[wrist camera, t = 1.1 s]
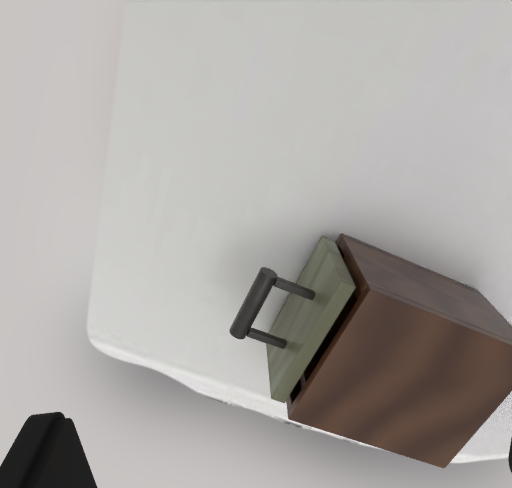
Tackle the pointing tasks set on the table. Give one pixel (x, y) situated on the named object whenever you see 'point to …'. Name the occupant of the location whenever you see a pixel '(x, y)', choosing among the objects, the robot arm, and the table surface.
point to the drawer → (300, 316)
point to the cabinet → (408, 361)
